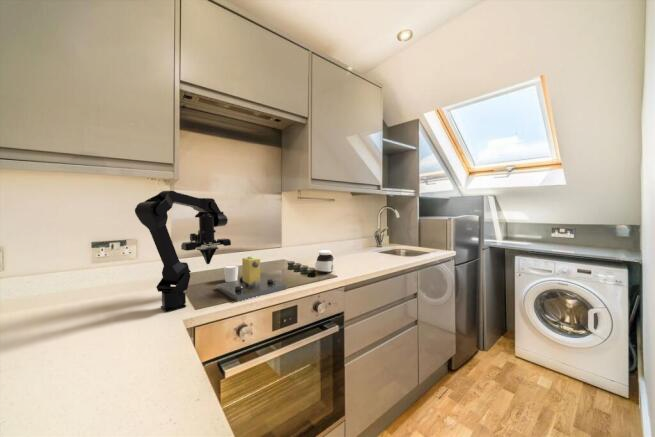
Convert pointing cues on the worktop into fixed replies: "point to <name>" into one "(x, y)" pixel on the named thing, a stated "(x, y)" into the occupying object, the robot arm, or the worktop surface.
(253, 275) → the yellow rectangular block
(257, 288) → the tribrach plate
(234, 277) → the white cup
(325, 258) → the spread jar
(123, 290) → the worktop surface
